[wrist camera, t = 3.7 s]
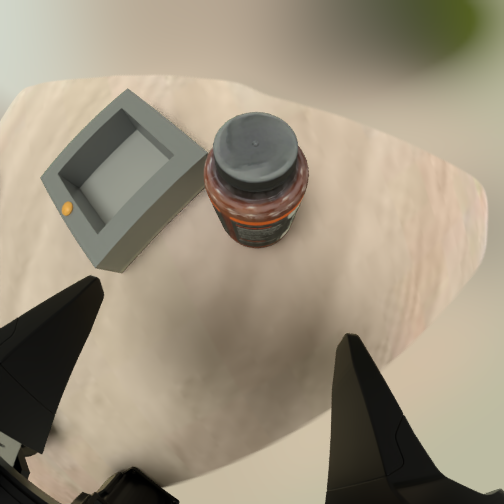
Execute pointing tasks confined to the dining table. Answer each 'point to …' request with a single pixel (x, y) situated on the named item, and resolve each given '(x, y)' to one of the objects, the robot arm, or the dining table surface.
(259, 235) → the supplement bottle
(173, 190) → the socket housing
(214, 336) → the dining table surface
